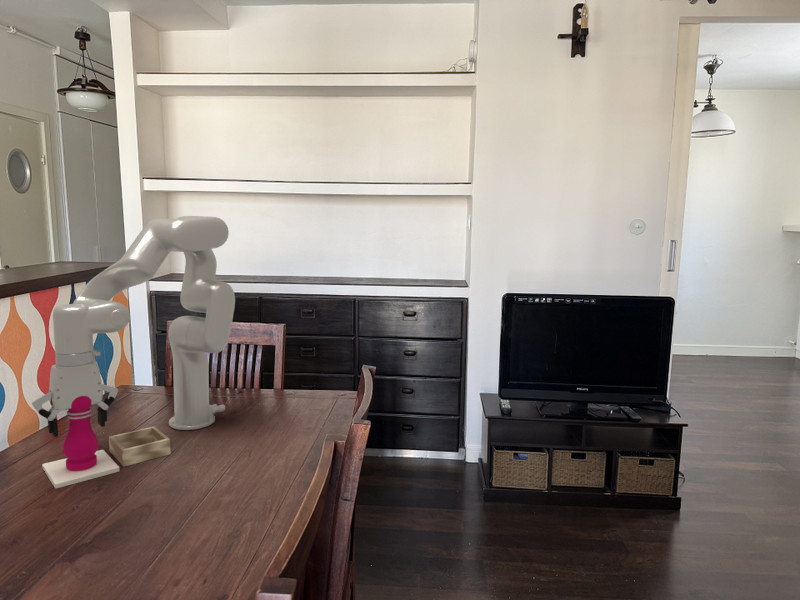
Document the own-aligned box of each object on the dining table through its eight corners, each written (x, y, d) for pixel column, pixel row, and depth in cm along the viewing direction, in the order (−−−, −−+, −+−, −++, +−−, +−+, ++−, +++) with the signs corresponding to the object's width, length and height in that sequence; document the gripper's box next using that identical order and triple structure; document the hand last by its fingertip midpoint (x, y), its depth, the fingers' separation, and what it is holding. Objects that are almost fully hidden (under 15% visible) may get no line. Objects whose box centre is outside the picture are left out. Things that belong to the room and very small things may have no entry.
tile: (103, 453, 136) (102, 449, 135) (119, 471, 126) (119, 467, 126) (42, 468, 127) (42, 464, 126) (55, 488, 117) (55, 484, 117)
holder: (154, 440, 144) (154, 426, 144) (170, 454, 136) (170, 439, 136) (109, 451, 137) (108, 436, 136) (123, 466, 129) (122, 450, 128)
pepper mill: (83, 473, 122) (79, 388, 120) (55, 469, 124) (51, 385, 121) (106, 460, 129) (103, 380, 127) (80, 457, 131) (77, 377, 128)
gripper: (111, 350, 131) (114, 417, 134) (26, 360, 119) (31, 434, 122) (121, 356, 126) (123, 426, 128) (33, 368, 114) (38, 444, 116)
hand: (78, 430), depth 125 cm, fingers open, 9 cm apart
